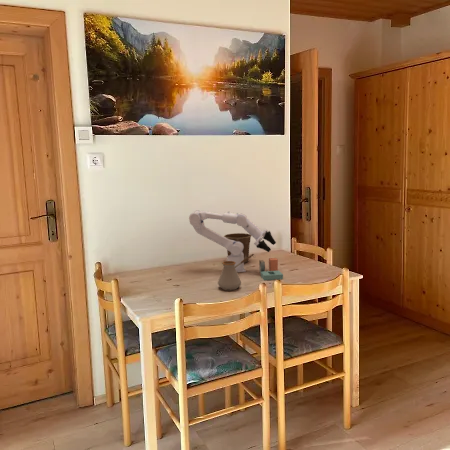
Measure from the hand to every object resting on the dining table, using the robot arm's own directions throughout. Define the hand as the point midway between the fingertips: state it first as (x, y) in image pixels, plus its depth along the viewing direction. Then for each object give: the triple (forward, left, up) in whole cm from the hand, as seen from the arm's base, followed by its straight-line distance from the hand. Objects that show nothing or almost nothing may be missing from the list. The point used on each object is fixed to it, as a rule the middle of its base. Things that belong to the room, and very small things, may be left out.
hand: (272, 247), depth 253 cm
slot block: (-4, -12, -14) cm, 18 cm away
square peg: (0, 0, -14) cm, 14 cm away
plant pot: (-15, +26, -14) cm, 33 cm away
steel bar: (-7, -3, -14) cm, 15 cm away
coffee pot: (-24, -23, -14) cm, 36 cm away
